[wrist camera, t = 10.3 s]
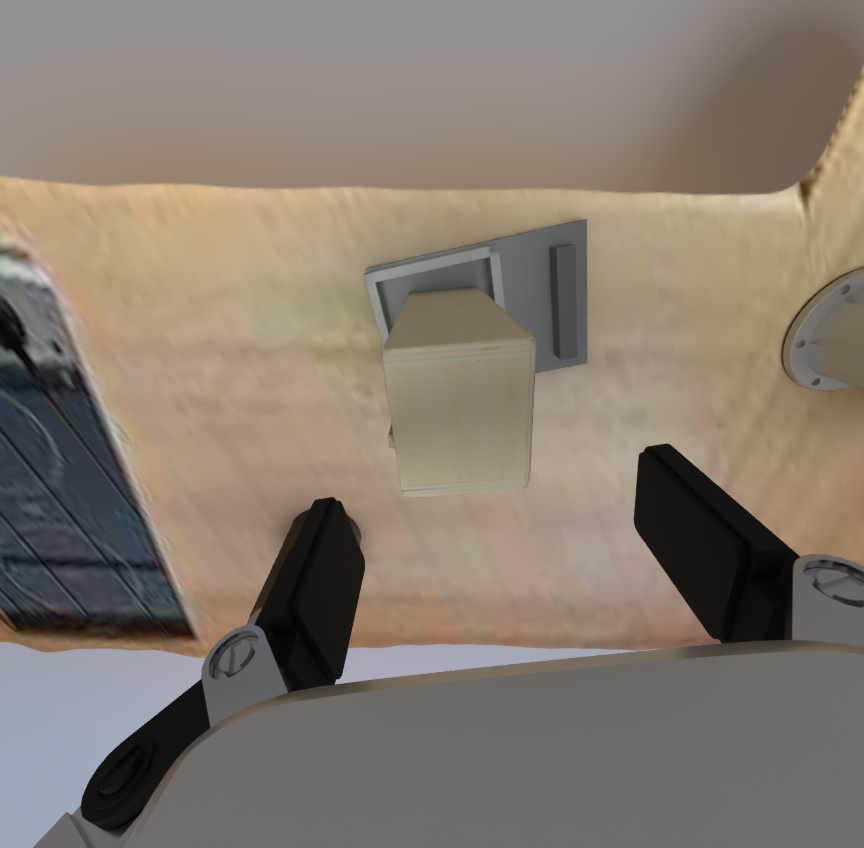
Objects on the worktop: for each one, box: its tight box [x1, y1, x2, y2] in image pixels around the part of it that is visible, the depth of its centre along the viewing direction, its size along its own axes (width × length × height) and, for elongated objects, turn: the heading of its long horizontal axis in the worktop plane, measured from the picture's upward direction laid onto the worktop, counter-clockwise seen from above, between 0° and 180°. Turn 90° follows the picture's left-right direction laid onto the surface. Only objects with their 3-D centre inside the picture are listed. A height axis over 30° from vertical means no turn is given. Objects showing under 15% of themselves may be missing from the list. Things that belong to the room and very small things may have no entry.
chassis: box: [364, 219, 587, 373], centre depth 34 cm, size 20×13×4 cm, turn 101°
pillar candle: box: [247, 510, 361, 625], centre depth 42 cm, size 10×10×15 cm
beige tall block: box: [382, 286, 536, 497], centre depth 26 cm, size 8×7×21 cm
